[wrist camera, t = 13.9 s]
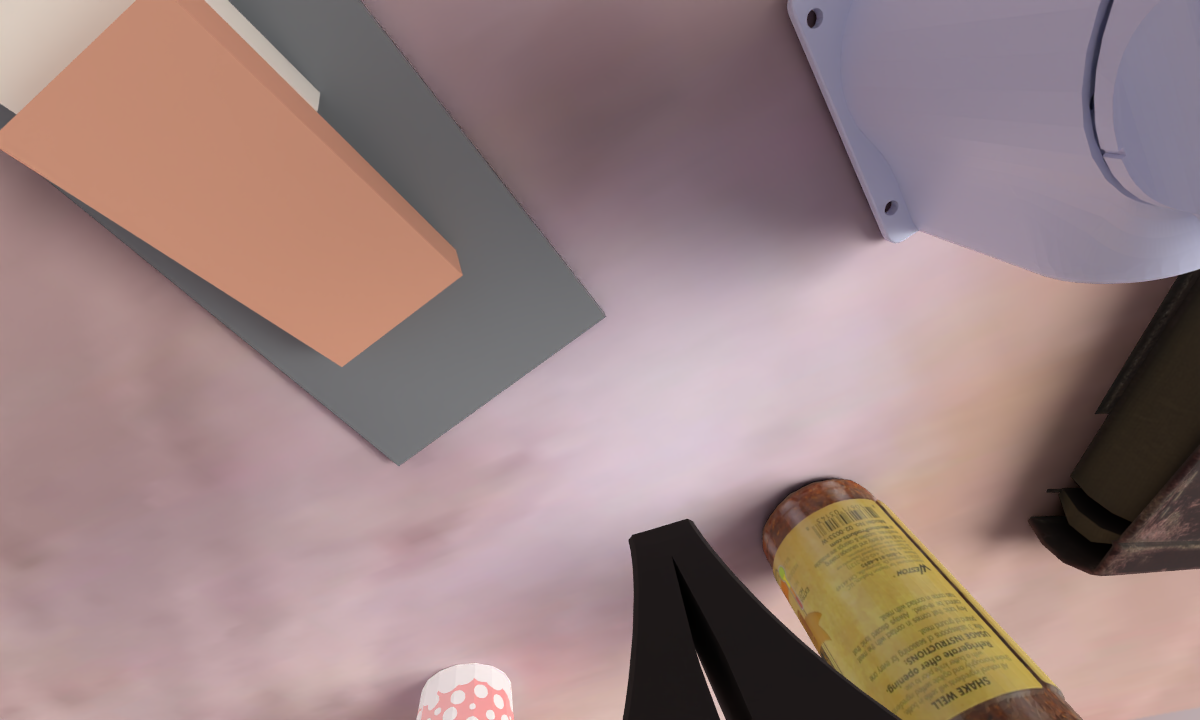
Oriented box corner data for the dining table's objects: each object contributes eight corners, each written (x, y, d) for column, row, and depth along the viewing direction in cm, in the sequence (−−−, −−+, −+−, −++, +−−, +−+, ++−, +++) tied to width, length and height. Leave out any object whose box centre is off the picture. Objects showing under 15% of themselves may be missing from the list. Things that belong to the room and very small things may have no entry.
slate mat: (604, 312, 20) (605, 316, 20) (400, 460, 22) (398, 466, 21) (-788, -1472, 7) (-857, -1554, 6) (-1082, -757, 8) (-1153, -794, 8)
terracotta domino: (342, 337, 19) (21, 117, 13) (455, 249, 18) (174, -29, 12) (341, 367, 18) (-13, 141, 11) (462, 275, 17) (155, -19, 11)
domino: (317, 110, 14) (-204, -398, 8) (185, 227, 15) (-386, -156, 9) (320, 92, 15) (-136, -366, 9) (197, 202, 16) (-303, -154, 10)
